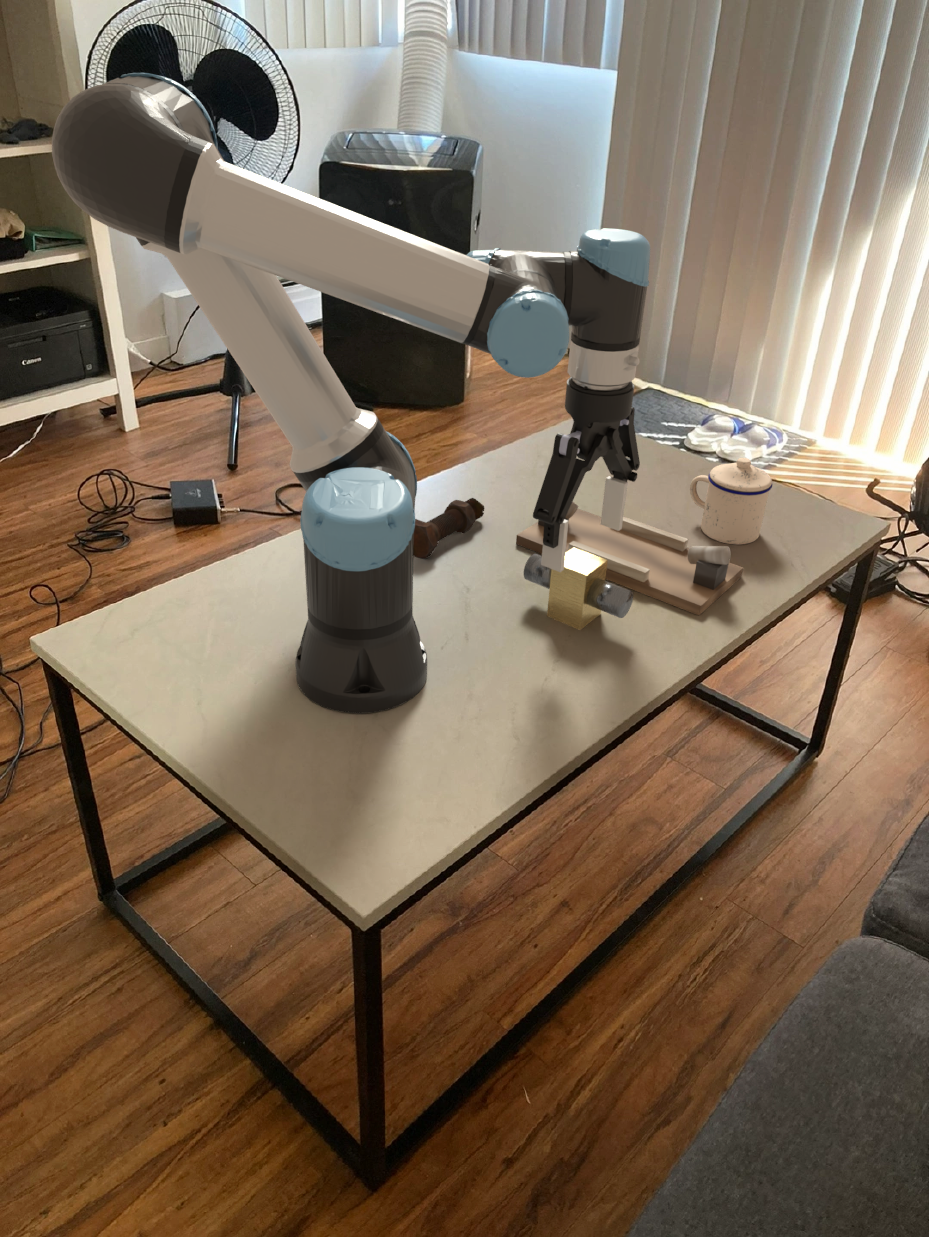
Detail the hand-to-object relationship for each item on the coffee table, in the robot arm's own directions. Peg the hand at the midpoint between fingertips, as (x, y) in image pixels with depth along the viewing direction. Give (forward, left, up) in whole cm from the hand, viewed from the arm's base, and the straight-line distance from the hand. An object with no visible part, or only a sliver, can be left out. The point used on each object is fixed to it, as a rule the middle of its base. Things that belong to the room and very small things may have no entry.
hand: (582, 546), depth 122 cm
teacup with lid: (+35, -4, -10) cm, 37 cm away
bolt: (+6, +25, -10) cm, 28 cm away
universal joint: (0, 0, -10) cm, 10 cm away
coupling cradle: (+17, +2, -10) cm, 20 cm away
